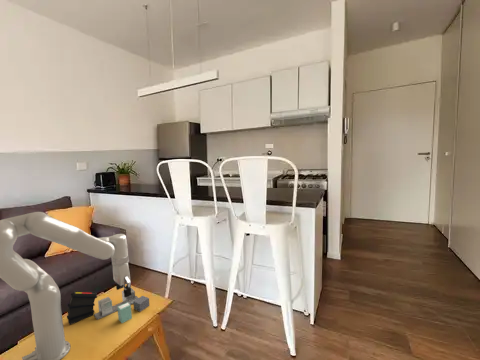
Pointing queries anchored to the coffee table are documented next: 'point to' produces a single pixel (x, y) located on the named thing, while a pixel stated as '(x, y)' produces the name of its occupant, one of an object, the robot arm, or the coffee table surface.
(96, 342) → the coffee table surface
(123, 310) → the block
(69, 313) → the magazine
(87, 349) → the coffee table surface
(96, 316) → the rail
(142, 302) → the gray brick
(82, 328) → the coffee table surface
